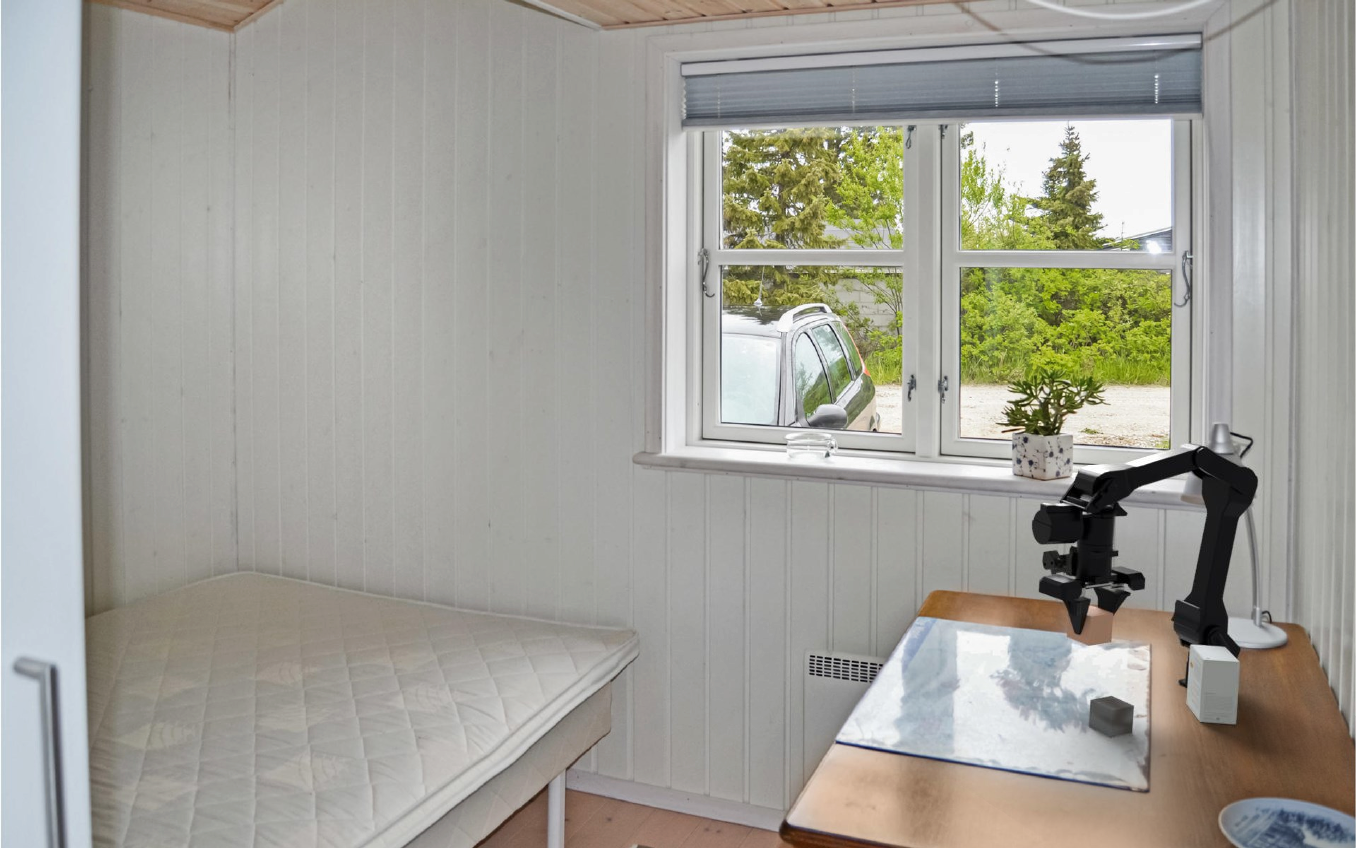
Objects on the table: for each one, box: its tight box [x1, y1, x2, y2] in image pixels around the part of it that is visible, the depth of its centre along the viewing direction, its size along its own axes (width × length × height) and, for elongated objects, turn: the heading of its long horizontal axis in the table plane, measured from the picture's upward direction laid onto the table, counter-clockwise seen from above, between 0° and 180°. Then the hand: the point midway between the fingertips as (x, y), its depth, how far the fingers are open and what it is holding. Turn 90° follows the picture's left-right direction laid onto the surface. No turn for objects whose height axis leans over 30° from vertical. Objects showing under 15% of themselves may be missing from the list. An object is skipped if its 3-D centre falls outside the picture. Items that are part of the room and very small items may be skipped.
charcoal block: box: [1088, 695, 1135, 738], centre depth 167 cm, size 4×4×4 cm
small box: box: [1185, 645, 1241, 725], centre depth 173 cm, size 8×6×10 cm
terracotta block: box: [1066, 604, 1114, 647], centre depth 180 cm, size 5×5×5 cm
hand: (1089, 632), depth 180 cm, fingers closed on terracotta block, 5 cm apart
